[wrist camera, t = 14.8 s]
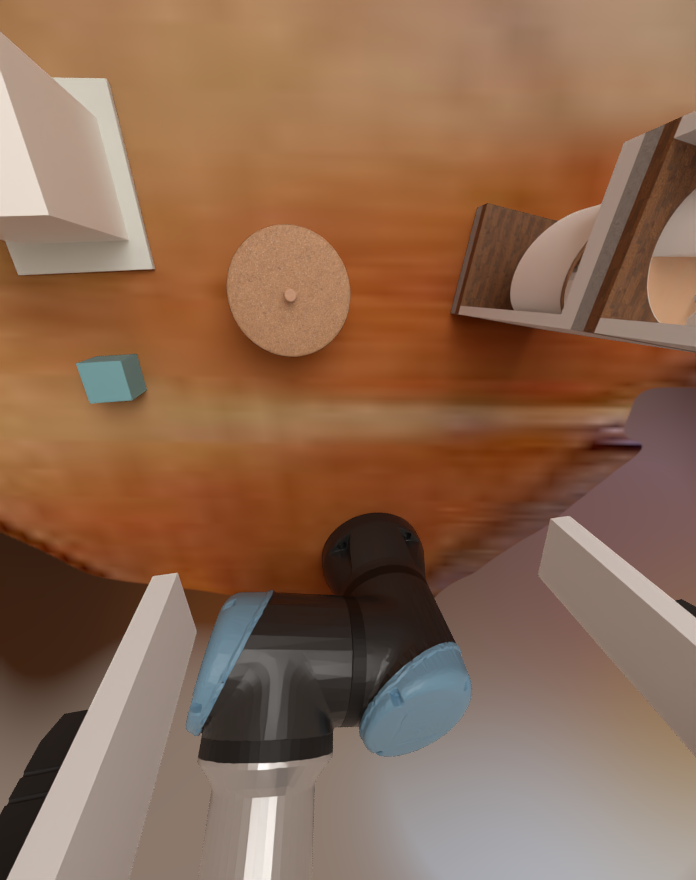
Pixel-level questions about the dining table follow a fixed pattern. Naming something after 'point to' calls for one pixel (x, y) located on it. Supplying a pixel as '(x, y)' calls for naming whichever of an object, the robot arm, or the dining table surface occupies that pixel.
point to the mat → (137, 248)
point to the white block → (51, 161)
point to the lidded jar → (288, 290)
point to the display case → (599, 254)
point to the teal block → (112, 378)
